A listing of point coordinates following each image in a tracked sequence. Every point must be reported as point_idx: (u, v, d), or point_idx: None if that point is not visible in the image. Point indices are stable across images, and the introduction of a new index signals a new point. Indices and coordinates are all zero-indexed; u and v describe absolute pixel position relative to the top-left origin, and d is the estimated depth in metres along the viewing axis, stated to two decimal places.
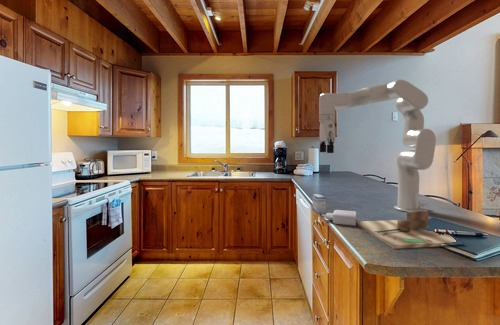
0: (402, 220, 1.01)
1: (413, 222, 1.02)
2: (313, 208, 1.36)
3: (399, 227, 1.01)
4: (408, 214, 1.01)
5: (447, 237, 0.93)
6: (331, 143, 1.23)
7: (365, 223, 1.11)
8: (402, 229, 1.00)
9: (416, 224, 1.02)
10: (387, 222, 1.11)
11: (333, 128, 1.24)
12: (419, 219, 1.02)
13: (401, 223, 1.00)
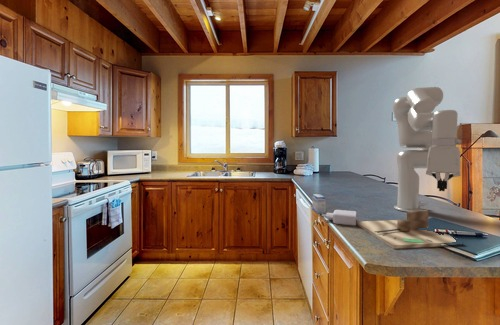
0: (402, 220, 1.01)
1: (413, 222, 1.02)
2: (313, 208, 1.36)
3: (399, 227, 1.01)
4: (408, 214, 1.01)
5: (447, 237, 0.93)
6: None
7: (365, 223, 1.11)
8: (402, 229, 1.00)
9: (416, 224, 1.02)
10: (387, 222, 1.11)
11: None
12: (419, 219, 1.02)
13: (401, 223, 1.00)
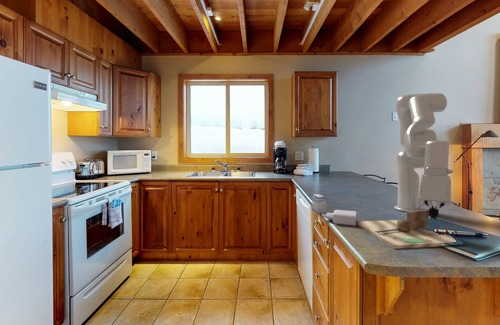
0: (402, 220, 1.01)
1: (413, 222, 1.02)
2: (313, 208, 1.36)
3: (399, 227, 1.01)
4: (408, 214, 1.01)
5: (447, 237, 0.93)
6: (440, 207, 1.00)
7: (365, 223, 1.11)
8: (402, 229, 1.00)
9: (416, 224, 1.02)
10: (387, 222, 1.11)
11: None
12: (419, 219, 1.02)
13: (401, 223, 1.00)
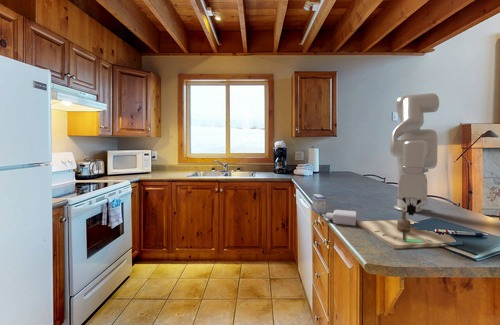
0: (402, 220, 1.01)
1: None
2: (313, 208, 1.36)
3: (404, 228, 0.99)
4: (404, 213, 1.02)
5: (447, 237, 0.93)
6: (417, 204, 1.05)
7: (365, 223, 1.11)
8: (407, 229, 0.99)
9: None
10: (387, 222, 1.11)
11: None
12: None
13: (406, 224, 0.99)
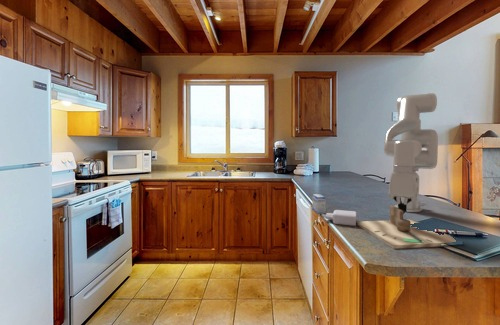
0: (403, 220, 1.01)
1: None
2: (313, 208, 1.36)
3: (406, 228, 0.99)
4: (402, 212, 1.03)
5: (447, 237, 0.93)
6: (408, 202, 1.06)
7: (365, 223, 1.11)
8: (409, 229, 0.99)
9: None
10: (387, 222, 1.11)
11: (417, 182, 1.05)
12: None
13: (408, 224, 0.99)
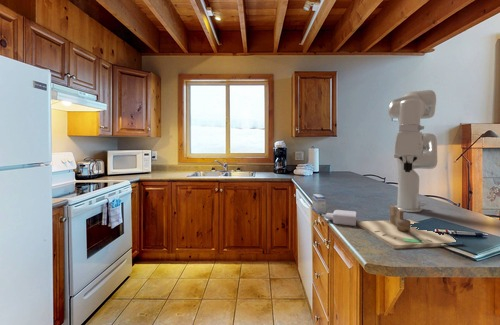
0: (403, 220, 1.01)
1: None
2: (313, 208, 1.36)
3: (406, 228, 0.99)
4: (402, 212, 1.03)
5: (447, 237, 0.93)
6: (413, 161, 1.09)
7: (365, 223, 1.11)
8: (409, 229, 0.99)
9: None
10: (387, 222, 1.11)
11: (423, 141, 1.07)
12: None
13: (408, 224, 0.99)
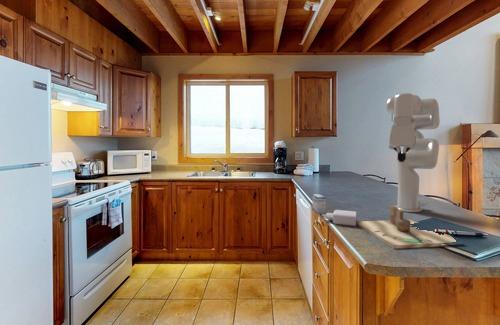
0: (403, 220, 1.01)
1: None
2: (313, 208, 1.36)
3: (406, 228, 0.99)
4: (402, 212, 1.03)
5: (447, 237, 0.93)
6: (407, 151, 1.16)
7: (365, 223, 1.11)
8: (409, 229, 0.99)
9: None
10: (387, 222, 1.11)
11: (415, 132, 1.15)
12: None
13: (408, 224, 0.99)
